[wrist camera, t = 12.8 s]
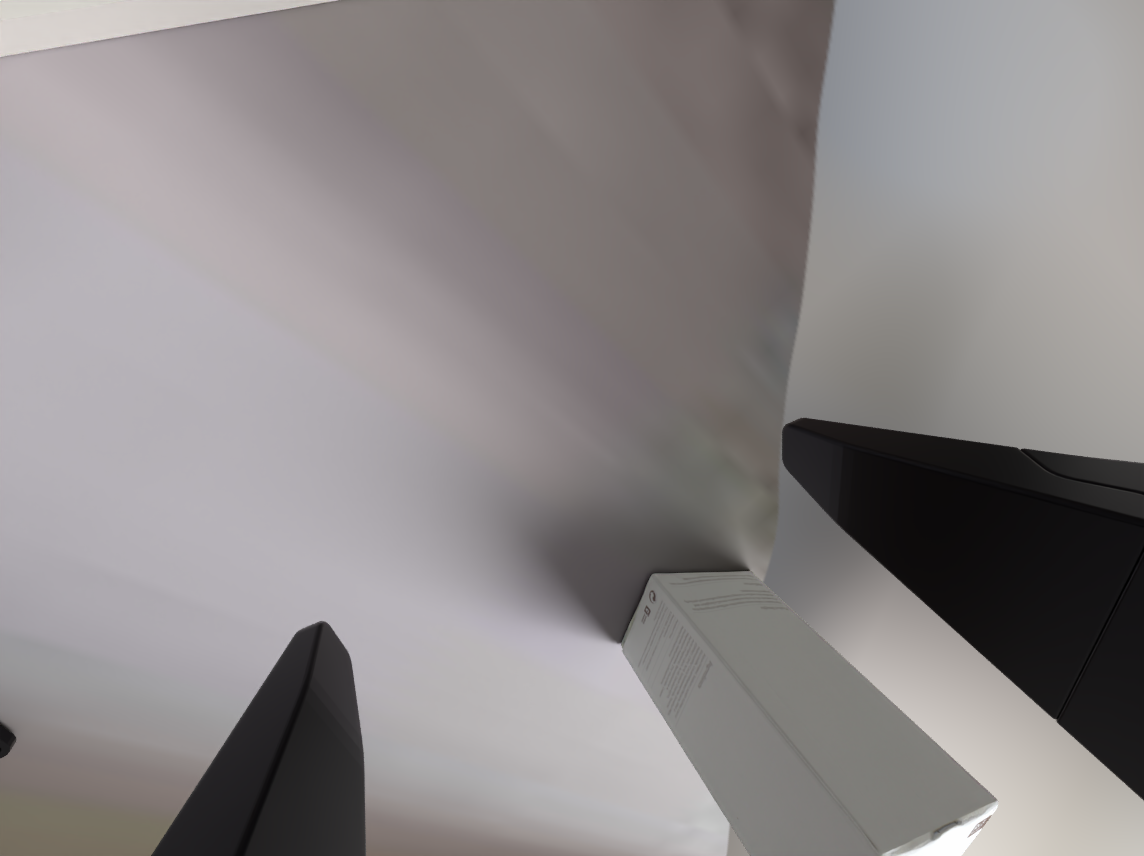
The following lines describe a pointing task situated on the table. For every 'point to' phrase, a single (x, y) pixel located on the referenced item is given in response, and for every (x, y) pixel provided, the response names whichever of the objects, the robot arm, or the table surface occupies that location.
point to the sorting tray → (113, 19)
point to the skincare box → (793, 728)
